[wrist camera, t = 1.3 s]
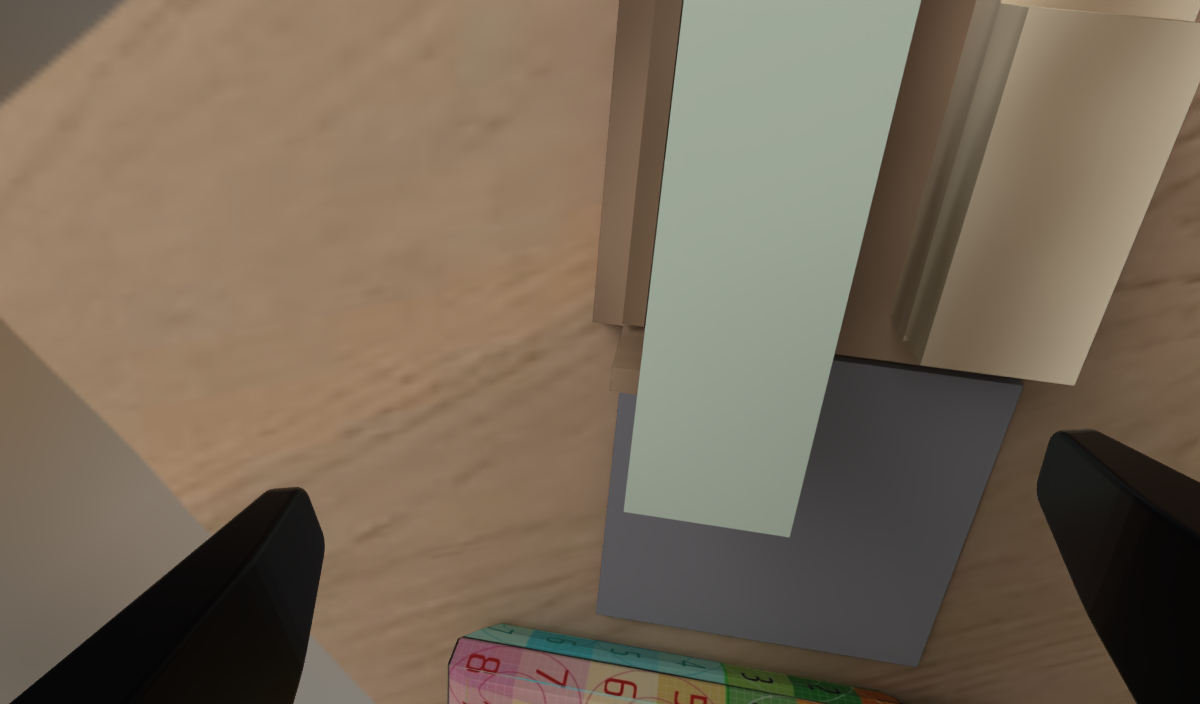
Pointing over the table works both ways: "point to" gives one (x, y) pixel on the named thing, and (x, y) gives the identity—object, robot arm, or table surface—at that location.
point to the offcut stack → (1043, 180)
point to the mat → (828, 522)
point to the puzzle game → (617, 675)
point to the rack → (640, 162)
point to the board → (758, 248)
